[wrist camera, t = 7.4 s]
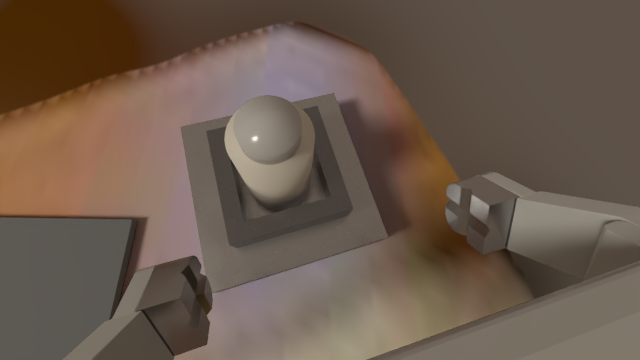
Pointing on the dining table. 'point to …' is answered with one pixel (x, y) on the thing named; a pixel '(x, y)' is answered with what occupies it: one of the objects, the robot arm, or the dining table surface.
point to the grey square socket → (278, 225)
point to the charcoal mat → (58, 282)
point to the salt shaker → (272, 150)
